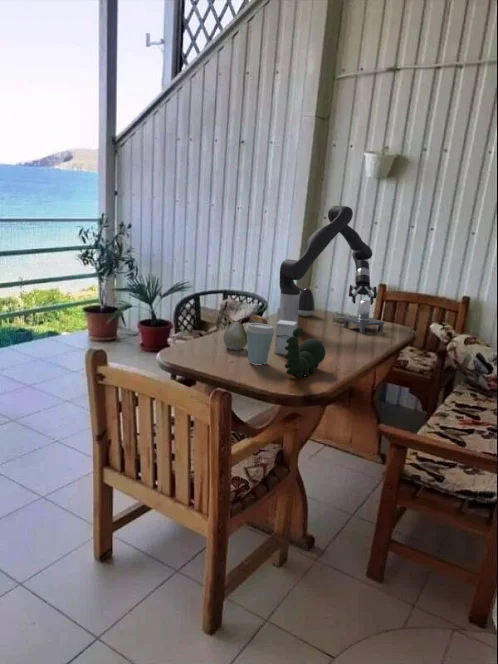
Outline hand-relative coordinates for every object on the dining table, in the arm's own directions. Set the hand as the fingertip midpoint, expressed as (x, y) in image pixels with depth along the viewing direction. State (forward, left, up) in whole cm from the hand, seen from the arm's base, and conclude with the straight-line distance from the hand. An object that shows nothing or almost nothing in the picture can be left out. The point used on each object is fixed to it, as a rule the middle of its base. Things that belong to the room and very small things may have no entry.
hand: (363, 303), depth 261 cm
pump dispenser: (-15, +28, -12) cm, 34 cm away
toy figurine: (-75, -54, -12) cm, 93 cm away
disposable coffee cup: (-85, -39, -12) cm, 94 cm away
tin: (-62, 0, -12) cm, 63 cm away
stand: (-6, -9, -11) cm, 16 cm away
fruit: (-84, -19, -12) cm, 87 cm away
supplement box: (-67, -30, -12) cm, 74 cm away
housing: (-6, -8, -6) cm, 12 cm away
